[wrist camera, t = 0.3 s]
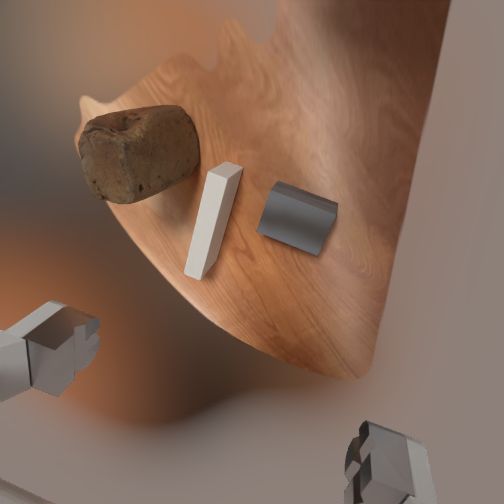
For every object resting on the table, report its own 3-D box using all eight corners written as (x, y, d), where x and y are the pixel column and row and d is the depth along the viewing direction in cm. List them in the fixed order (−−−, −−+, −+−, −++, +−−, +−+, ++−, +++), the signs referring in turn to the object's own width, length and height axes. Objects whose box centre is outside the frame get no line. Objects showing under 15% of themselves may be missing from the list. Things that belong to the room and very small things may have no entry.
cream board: (226, 161, 55) (208, 171, 48) (243, 167, 55) (227, 178, 48) (202, 253, 64) (183, 273, 57) (216, 259, 63) (200, 280, 56)
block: (202, 174, 57) (137, 211, 40) (162, 172, 59) (82, 206, 41) (198, 104, 53) (122, 110, 35) (154, 103, 54) (60, 109, 37)
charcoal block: (278, 180, 54) (270, 189, 49) (337, 203, 54) (336, 215, 48) (265, 218, 58) (256, 231, 53) (320, 240, 57) (317, 256, 52)
